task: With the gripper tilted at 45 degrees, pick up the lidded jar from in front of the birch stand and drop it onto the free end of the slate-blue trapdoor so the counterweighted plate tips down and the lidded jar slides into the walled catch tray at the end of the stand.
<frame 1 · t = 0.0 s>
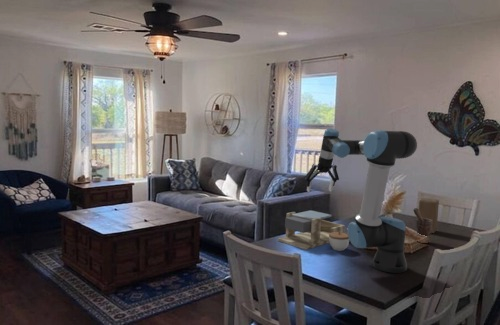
hand: (319, 191, 231), 28 cm above the table, tool tilted 20°, fingers open, 13 cm apart
block: (426, 231, 258), on the table
lidded jar: (338, 249, 217), on the table
trapdoor: (307, 220, 229), point 11 cm above the table, hinge at 0.0°
mortar and pestle: (421, 242, 232), on the table
trapdoor stand: (306, 240, 230), on the table
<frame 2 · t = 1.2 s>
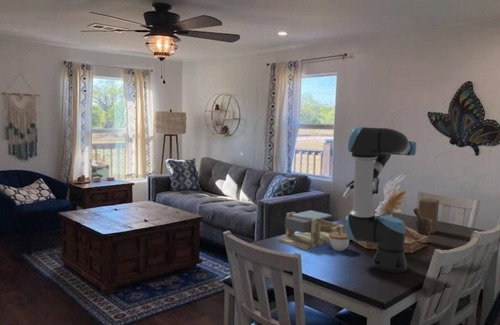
hand: (354, 199, 220), 25 cm above the table, tool tilted 45°, fingers open, 13 cm apart
nothing on the table moved.
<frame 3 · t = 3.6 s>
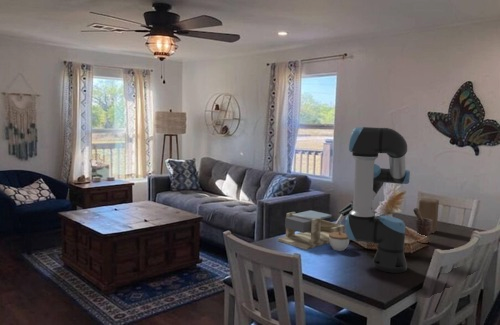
hand: (346, 227, 220), 10 cm above the table, tool tilted 45°, fingers open, 13 cm apart
nothing on the table moved.
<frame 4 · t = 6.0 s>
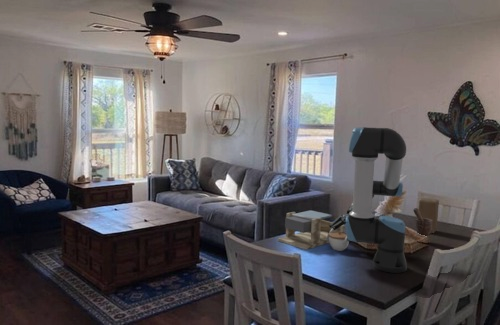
hand: (335, 242, 214), 4 cm above the table, tool tilted 45°, fingers closed on lidded jar, 11 cm apart
lidded jar: (338, 249, 217), on the table, touching gripper
everything else where it was.
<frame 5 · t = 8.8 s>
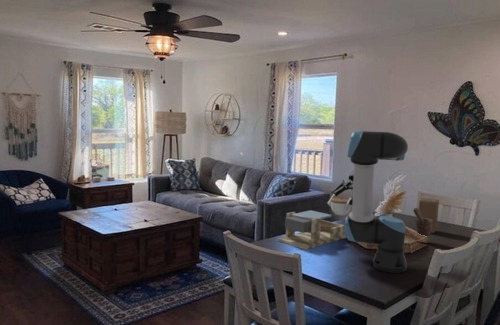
hand: (337, 206, 212), 23 cm above the table, tool tilted 45°, fingers closed on lidded jar, 11 cm apart
lidded jar: (340, 214, 215), point 19 cm above the table, touching gripper
everything else where it was.
when the fingers open (22 cm above the table, at t = 11.9 s): lidded jar drops 6 cm, resting on trapdoor stand.
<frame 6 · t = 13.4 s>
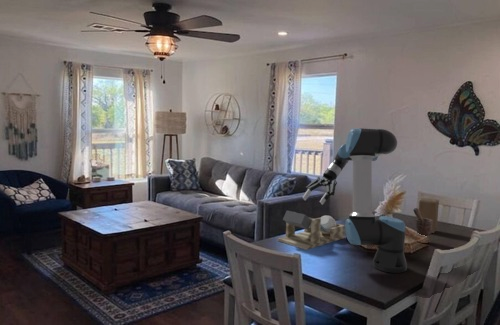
hand: (312, 201, 230), 22 cm above the table, tool tilted 45°, fingers open, 13 cm apart
lidded jar: (324, 219, 235), point 11 cm above the table, touching trapdoor stand
trapdoor: (305, 224, 227), point 9 cm above the table, hinge at -33.1°
everything else where it was.
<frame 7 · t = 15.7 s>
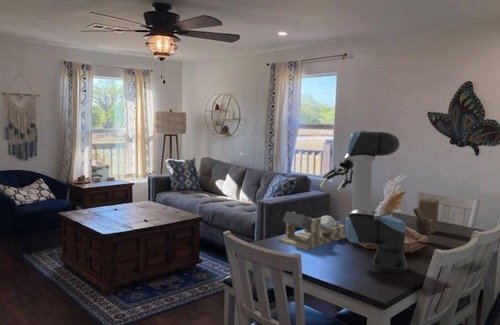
hand: (329, 189, 237), 28 cm above the table, tool tilted 45°, fingers open, 13 cm apart
lidded jar: (323, 219, 235), point 11 cm above the table, touching trapdoor, trapdoor stand
trapdoor: (305, 224, 228), point 10 cm above the table, hinge at -29.5°, touching lidded jar
everything else where it was.
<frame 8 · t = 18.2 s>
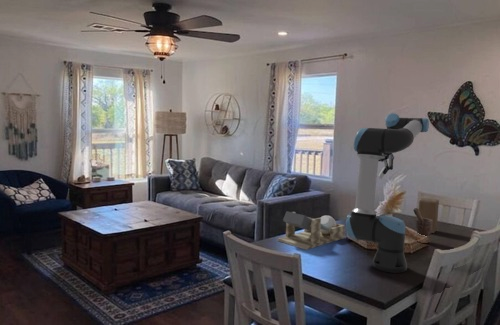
hand: (369, 176, 225), 38 cm above the table, tool tilted 45°, fingers open, 13 cm apart
nothing on the table moved.
at the end: lidded jar point 10.9 cm above the table; lidded jar inside the target area on the trapdoor stand (3.6 cm from its centre), point 10.9 cm above the trapdoor stand's base; the gripper is holding nothing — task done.
